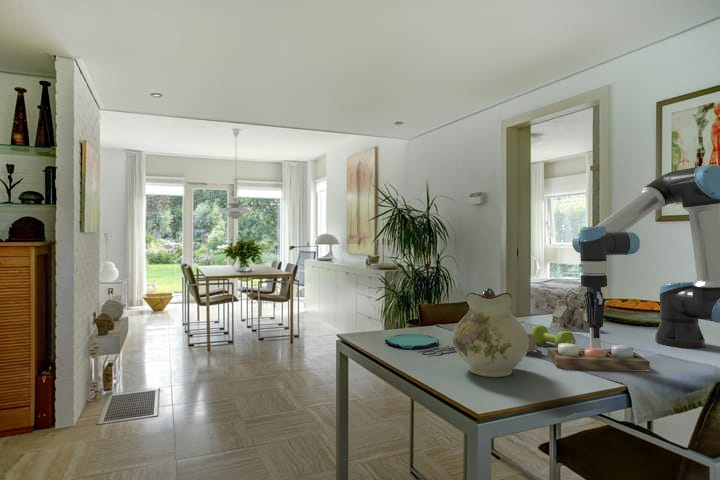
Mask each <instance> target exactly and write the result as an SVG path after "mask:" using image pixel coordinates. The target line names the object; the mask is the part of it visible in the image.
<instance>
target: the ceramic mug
mask: <svg viewBox="0 0 720 480" xmlns="http://www.w3.org/2000/svg"><path fill="white" fill-rule="evenodd" d="M527 334H528V337H529V348H528V351H527V353H526V354H530V353H532V352H533V351H534V350H535V351H538V349H539V345H536V344H535V343H536V342H535V338H534V336H533V335H531V334H530V332H527Z"/></svg>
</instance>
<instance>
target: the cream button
mask: <svg viewBox="0 0 720 480" xmlns="http://www.w3.org/2000/svg"><path fill="white" fill-rule="evenodd" d="M558 354H559V355H560V356H579V345H577V344H576V343H575V344H569V343H561V344H558Z"/></svg>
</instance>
